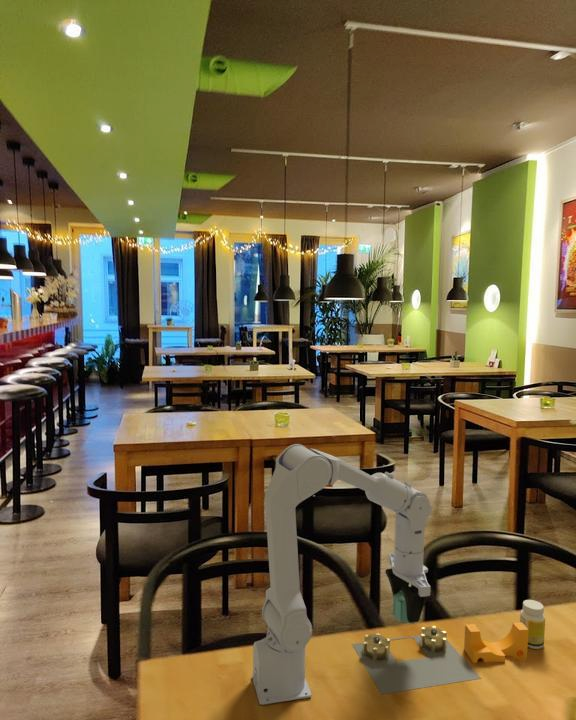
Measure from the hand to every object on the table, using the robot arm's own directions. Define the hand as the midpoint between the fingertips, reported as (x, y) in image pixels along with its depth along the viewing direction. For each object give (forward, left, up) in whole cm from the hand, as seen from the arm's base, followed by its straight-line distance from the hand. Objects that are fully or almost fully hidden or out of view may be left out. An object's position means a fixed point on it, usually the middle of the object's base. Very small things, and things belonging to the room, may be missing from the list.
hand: (406, 612), depth 108 cm
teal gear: (0, 0, -1) cm, 1 cm away
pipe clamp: (+17, -6, -9) cm, 20 cm away
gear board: (0, -4, -9) cm, 9 cm away
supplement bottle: (+28, -2, -9) cm, 29 cm away
